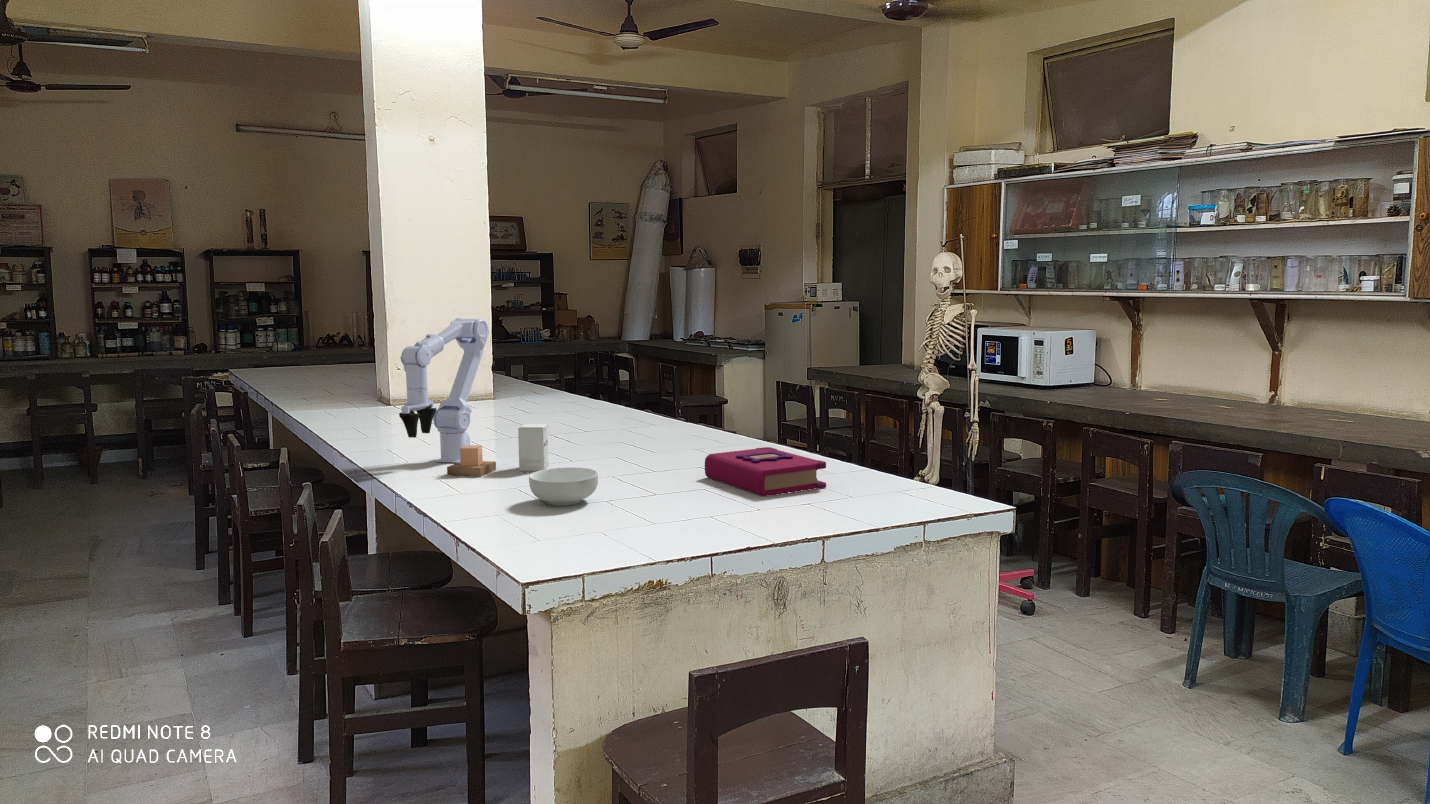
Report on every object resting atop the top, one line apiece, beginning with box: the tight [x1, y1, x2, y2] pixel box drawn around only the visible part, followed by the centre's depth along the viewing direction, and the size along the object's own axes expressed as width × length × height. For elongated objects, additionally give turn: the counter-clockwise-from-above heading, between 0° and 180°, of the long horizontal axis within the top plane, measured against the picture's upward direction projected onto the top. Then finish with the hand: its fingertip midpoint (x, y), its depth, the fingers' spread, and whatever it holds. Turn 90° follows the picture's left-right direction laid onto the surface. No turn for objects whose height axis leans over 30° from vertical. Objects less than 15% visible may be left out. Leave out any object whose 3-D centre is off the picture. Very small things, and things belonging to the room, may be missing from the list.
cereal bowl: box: [528, 466, 599, 506], centre depth 239 cm, size 17×17×7 cm
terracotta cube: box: [460, 444, 484, 466], centre depth 276 cm, size 5×5×5 cm
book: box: [704, 446, 827, 497], centre depth 260 cm, size 21×28×8 cm
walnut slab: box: [446, 460, 497, 478], centre depth 276 cm, size 10×10×3 cm
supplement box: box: [517, 423, 549, 472], centre depth 281 cm, size 7×7×13 cm
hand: (419, 435), depth 281 cm, fingers open, 7 cm apart
